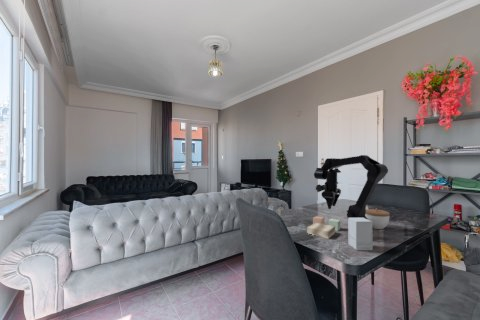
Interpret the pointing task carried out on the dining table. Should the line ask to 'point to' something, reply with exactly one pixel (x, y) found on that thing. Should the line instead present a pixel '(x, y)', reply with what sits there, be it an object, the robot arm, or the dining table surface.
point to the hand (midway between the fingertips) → (331, 207)
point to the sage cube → (335, 223)
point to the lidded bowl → (378, 218)
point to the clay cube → (318, 220)
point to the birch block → (321, 230)
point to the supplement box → (360, 233)
